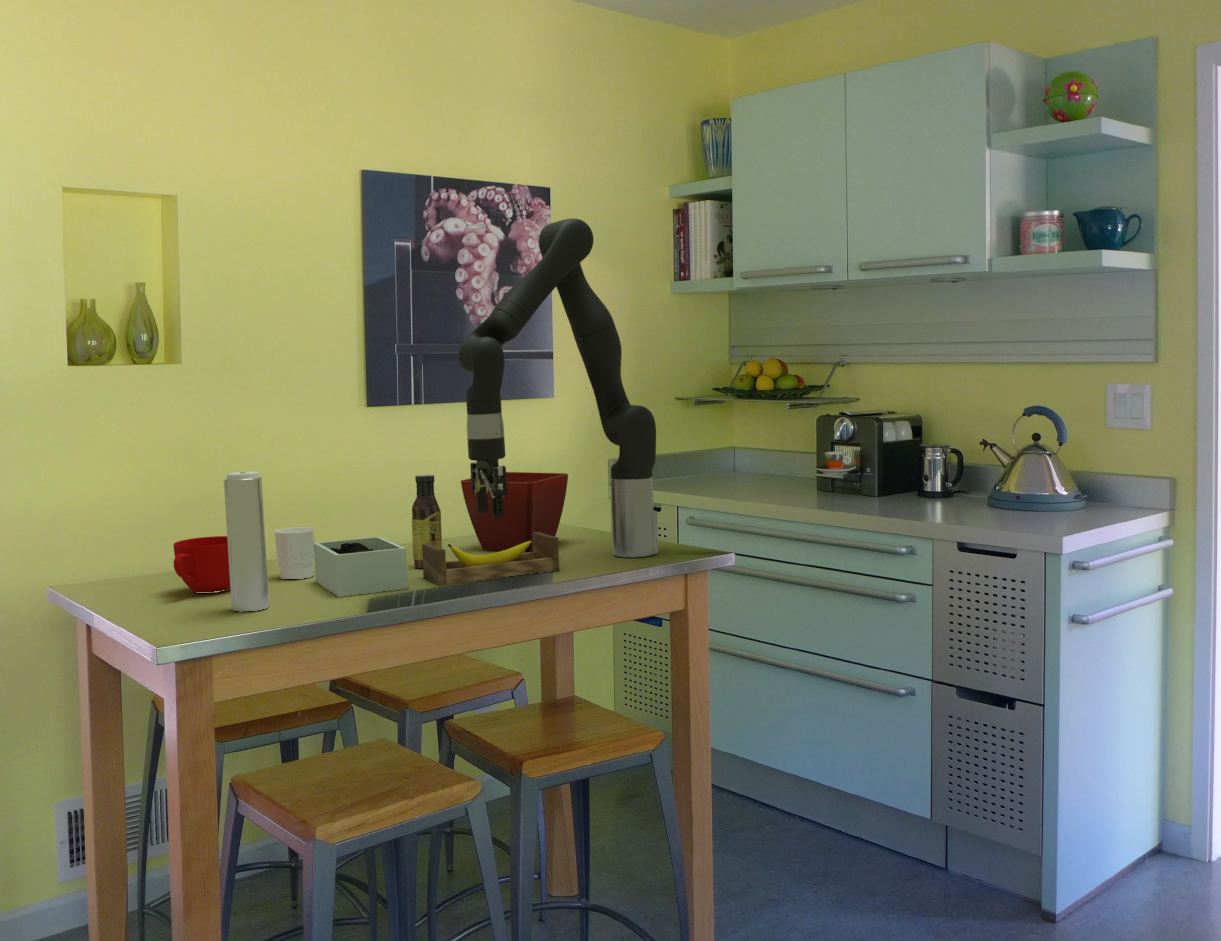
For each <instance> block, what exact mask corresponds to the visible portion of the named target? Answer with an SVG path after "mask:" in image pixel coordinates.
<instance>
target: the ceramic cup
mask: <svg viewBox="0 0 1221 941" xmlns="http://www.w3.org/2000/svg"><path fill="white" fill-rule="evenodd" d="M173 553H174V559H173V568H174V572H175V574H176V575H177V576H178V577H179V578H181V580H182V581H183V583H184V584H185V585H186V586H187V587H188V588H189V589H190V590H191V591H192V592H194V591H195V592H214V591H222V590H227V589H229V590H230V589H231V587H230V571H229V556H228V540H227V535H222V536H221V535H219V536H217V535H215V536H204V537H201V536H200V537H195V538H187V539H183V540H179V541H176V542H174V543H173ZM227 591H228V590H227Z"/></svg>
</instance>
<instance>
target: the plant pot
mask: <svg viewBox="0 0 1221 941" xmlns="http://www.w3.org/2000/svg"><path fill="white" fill-rule="evenodd" d="M506 477H507V489H508V495H505V497H504V498H503V506H504V516H502V517H493V514H492V497H491V494H490V491H489V490H488V492H487V495H488V512H485V513H479V512H478V511H477V496H476V495H475V492H474V491H472V489H471V477H470V478H466V479H462V480H460V485H461V489H462V495H463V499H464V503H465V506H466V510H467V512H468V517H469V518H470V522H471V525H472V527H473V531H474V533H475V535H476V538H477V540H478V543H479V544H480V547H481V548H482V550H485V551H486V550H487V551H499V550H507V549H509V548H512V547H515V546H517V545H519V544H522V543H525V542H527V541H532V532H541V533H544V534H548V535H551V536H555V537H557V536H556V535H557V533H558V529H559V525H560V522H561V518H562V515H563V511H564V507H565V506H564V505H565V500H566V494H567V487H568V479H569V473H567V472H566V473H565V472H563V473H559V472H524V471H523V472H521V471H519V472H518V471H506ZM479 481H480V480H479ZM502 488H503V487H502ZM532 550H533V541H532V542H531V543H530V545H529V547H528V548H527V549H526V550H525V551H529V552H533V551H532Z"/></svg>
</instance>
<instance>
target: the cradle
mask: <svg viewBox="0 0 1221 941" xmlns="http://www.w3.org/2000/svg"><path fill="white" fill-rule="evenodd" d="M532 541H533V551H529V552H523V553H522V554H521V555H520V556H519V557H518V558H516V559H514V560H513V561H511V562H507V563H499V564H490V565H481V566H473V567H467V566H465V565H464V564H463V563H461V562H460V561H459V560H449V561H446V560H447V559H446V549H445V548H443V547H442V548H440V547H437V546H435V545H432V544H430V543H426V544H422V555H423V568H422V571H423V572H422V573H423V576H422V577H423V579H425V578H426V579H425V580H427V579H428V580H427V581H429V582H432V583H433V582H434V583H433V584H436V585H437V584H438V586H447V585H454V584H456V583H457V584H462V583H463V582H465V583H471V581H473V582H478V581H477V580H481V581H486V580H485V579H489V580H494V579H493V578H497V579H502V578H501V577H506V578H509V577H508V576H514V575H522V576H524V575H523V574H530V573H538V574H541V573H540V572H546V573H552V572H551V571H555V572H559V571H560V557H559V556H560V554H559V552H560V550H559V548H560V547H559V537H557V536H551V535H548V534H544V533H541V532H532ZM530 575H531V574H530ZM514 577H515V576H514ZM457 584H456V585H457ZM463 584H464V583H463Z"/></svg>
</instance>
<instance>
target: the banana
mask: <svg viewBox="0 0 1221 941" xmlns="http://www.w3.org/2000/svg"><path fill="white" fill-rule="evenodd" d="M531 542H532V541H527V542H525V543H522V544H519V545H517V546H515V547H512V548H509V549H507V550H503V551H497V552H491V553H486V554H470V553H467V552H465V551H463V549H460V548H458V547H457V546H456V547H455V546H452V545H451V543H448V544H447V546H448V547H449V548H450V550H451V553H452V554H454V556H455V558H457V559H458V560H459V561H460V562H461V563H463V564H464V565H465V566H467V567H473V566H481V565H490V564H499V563H507V562H511V561H513V560H514V559H516V558H518V557H519V556H520V555H521V554H522V553H525V552H524V551H525V550H526V549H527V548H528V547H529V545H530V543H531Z"/></svg>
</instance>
